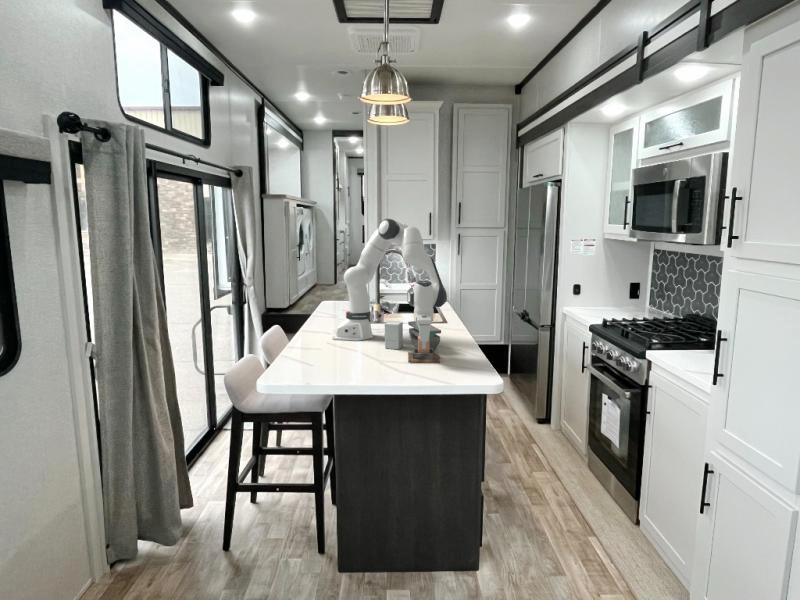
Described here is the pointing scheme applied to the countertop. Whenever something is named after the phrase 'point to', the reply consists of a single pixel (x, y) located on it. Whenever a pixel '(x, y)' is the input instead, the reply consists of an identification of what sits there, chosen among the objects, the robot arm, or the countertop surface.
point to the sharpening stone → (414, 335)
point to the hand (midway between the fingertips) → (423, 346)
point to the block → (421, 346)
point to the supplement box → (393, 335)
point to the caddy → (423, 356)
